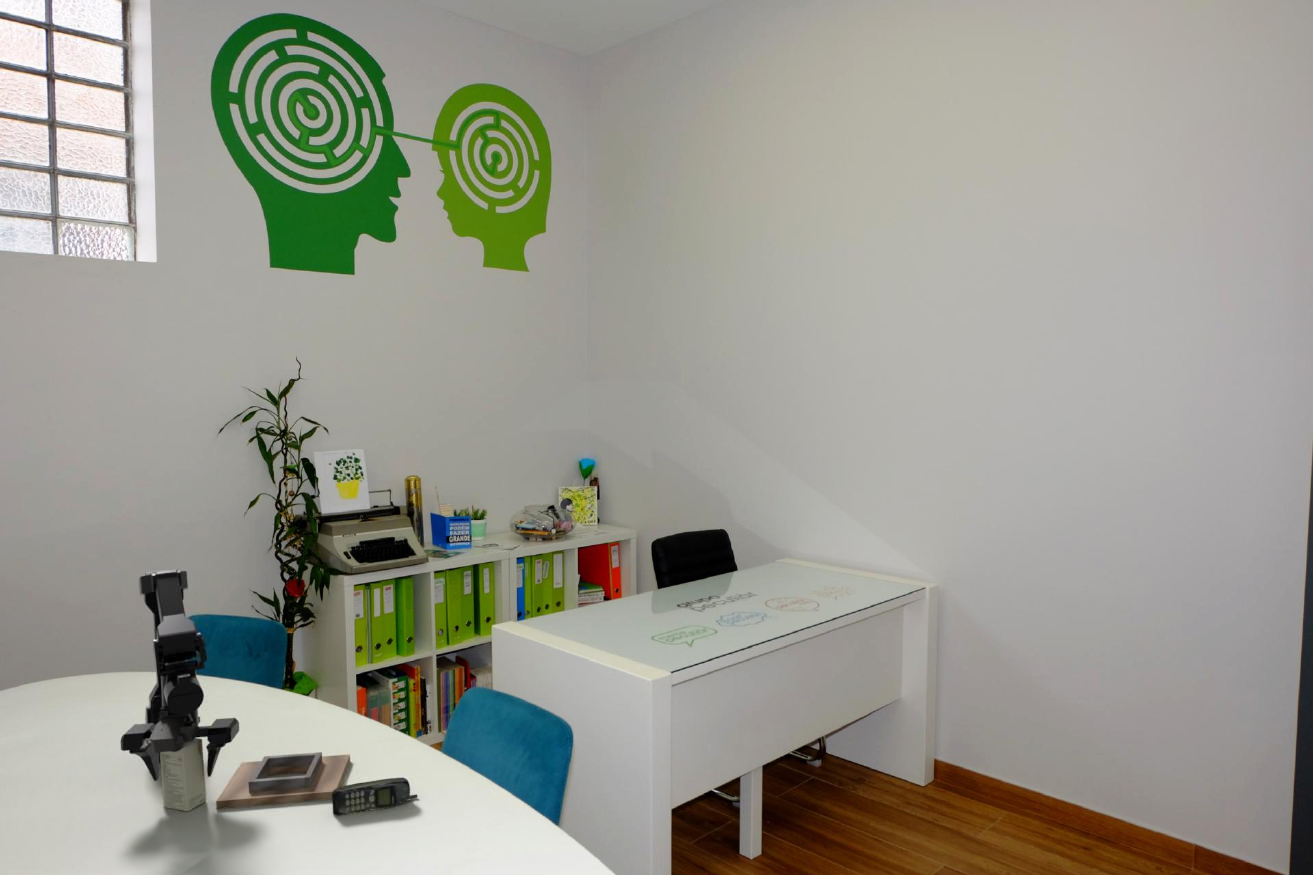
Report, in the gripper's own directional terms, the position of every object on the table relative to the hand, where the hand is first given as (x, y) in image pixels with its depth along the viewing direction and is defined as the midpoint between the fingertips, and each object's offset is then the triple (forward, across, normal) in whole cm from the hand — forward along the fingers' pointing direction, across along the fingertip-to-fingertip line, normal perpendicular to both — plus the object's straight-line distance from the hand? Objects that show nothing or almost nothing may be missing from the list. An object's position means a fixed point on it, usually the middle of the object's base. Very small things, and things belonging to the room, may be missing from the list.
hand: (183, 777), depth 161 cm
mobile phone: (+5, +35, -7) cm, 37 cm away
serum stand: (+5, +17, +5) cm, 18 cm away
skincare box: (+5, 0, 0) cm, 5 cm away
